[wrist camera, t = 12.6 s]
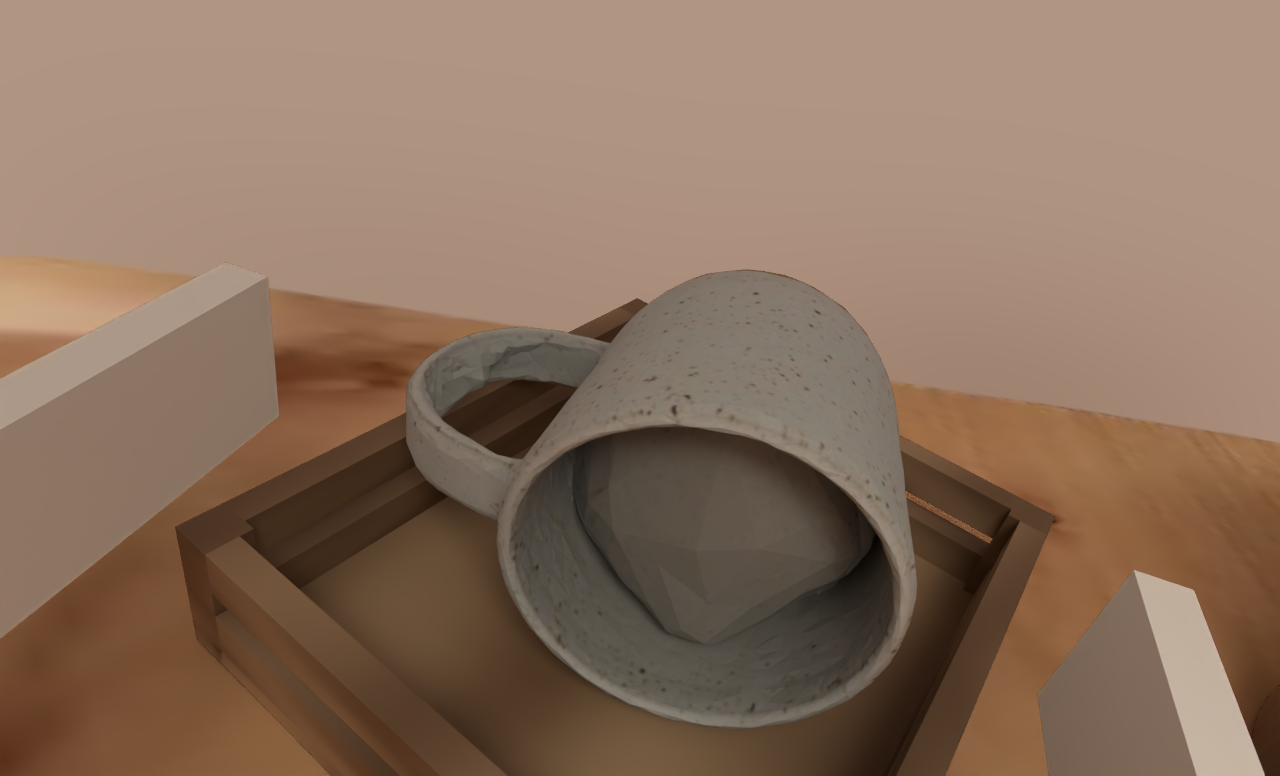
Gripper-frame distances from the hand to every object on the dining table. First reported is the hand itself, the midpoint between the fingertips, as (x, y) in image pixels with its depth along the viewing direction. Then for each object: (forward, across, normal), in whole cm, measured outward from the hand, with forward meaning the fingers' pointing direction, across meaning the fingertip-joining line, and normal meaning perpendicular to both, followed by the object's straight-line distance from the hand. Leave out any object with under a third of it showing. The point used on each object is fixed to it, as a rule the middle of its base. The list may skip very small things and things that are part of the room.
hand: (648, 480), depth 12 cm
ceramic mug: (+5, -2, -6) cm, 8 cm away
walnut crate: (+5, 0, -8) cm, 9 cm away
